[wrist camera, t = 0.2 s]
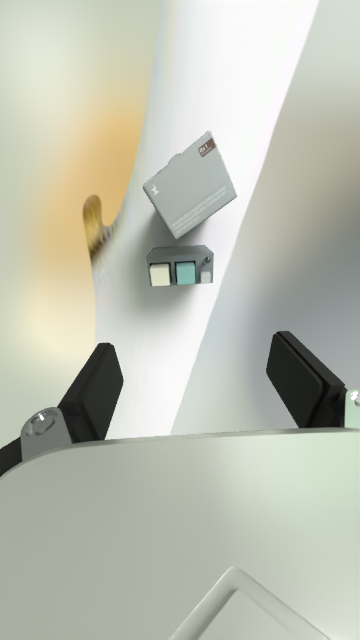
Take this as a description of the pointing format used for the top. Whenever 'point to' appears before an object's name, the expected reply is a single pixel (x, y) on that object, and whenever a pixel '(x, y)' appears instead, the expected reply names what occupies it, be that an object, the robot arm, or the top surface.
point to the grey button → (205, 277)
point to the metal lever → (207, 260)
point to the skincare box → (191, 187)
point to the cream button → (160, 274)
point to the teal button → (185, 273)
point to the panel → (182, 260)
